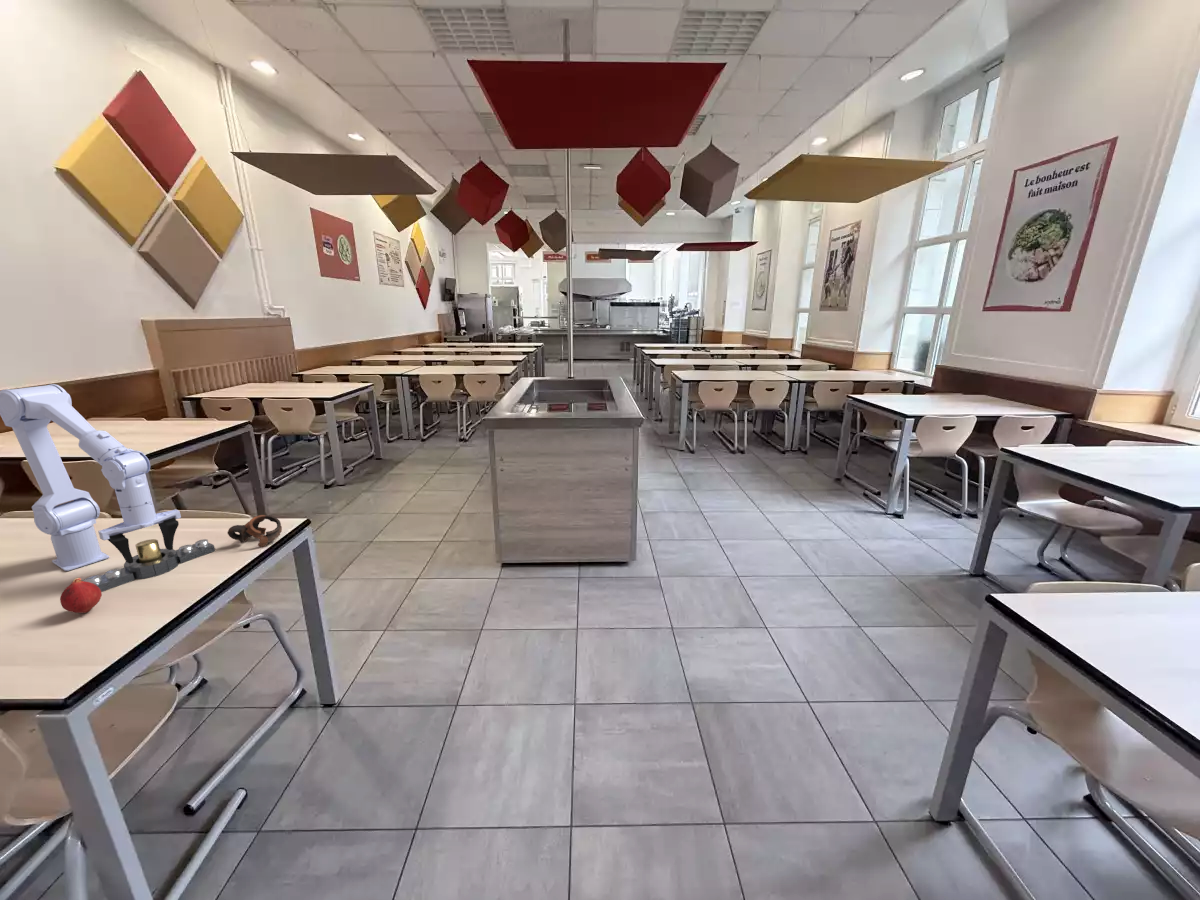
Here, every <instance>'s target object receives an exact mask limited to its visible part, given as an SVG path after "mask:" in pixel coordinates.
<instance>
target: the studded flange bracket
mask: <svg viewBox="0 0 1200 900" xmlns="http://www.w3.org/2000/svg"><path fill="white" fill-rule="evenodd" d="M160 551H161V555H162V558H161V559H159V560H156V561H153V562H149V563H140V560H139V557H138V554H136V555H134V556H132V558H133V563H130V564H129V563H127V562H126V561H125V562H124V563H123V568H113V569H110V570H108V571H106V572H104V574H101V575H98V574H97V575H92V576H89V577H87V578H84V580H83V581H85V582H90V583H93V584H95V585H96V586H98V587H99V588H100V590H101V593H102V592H103V593H104V592H105V591H108V590H111V589H114V588H116V587H119V586H123V585H125V584H127V583H130V582H132V581H133V582H134V581H135V580H144V579H148V578H149V579H150V578H153V577H157V576H161V575H163V574H166V573H169V572H170V571H173V570H174V569H175V568H177V567H178V566H179V564H183V563H186V562H189V561H192V560H194V559H197V558H200V557H202V556H205V555H208V554H211V553H214V552H216V548H215V544H213V543H210V542H209V539H206V538H204V539H203V538H202V539H200V540H197V541H195V543H193V544H184V545H181V546H179V548H178V549H174V548H173V549H172V550H168V549H166V548H160Z"/></svg>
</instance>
